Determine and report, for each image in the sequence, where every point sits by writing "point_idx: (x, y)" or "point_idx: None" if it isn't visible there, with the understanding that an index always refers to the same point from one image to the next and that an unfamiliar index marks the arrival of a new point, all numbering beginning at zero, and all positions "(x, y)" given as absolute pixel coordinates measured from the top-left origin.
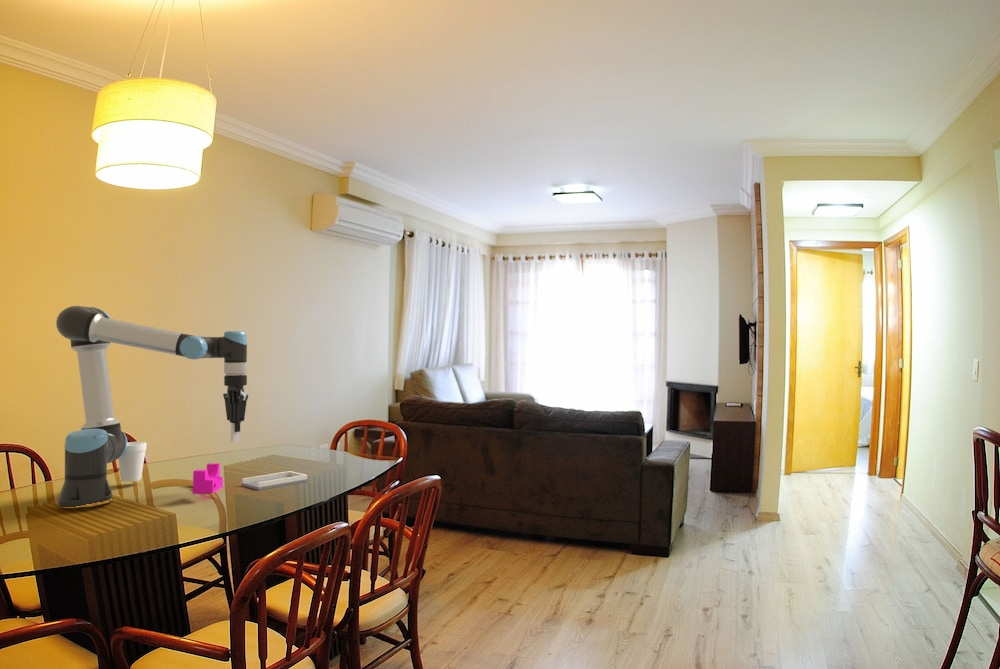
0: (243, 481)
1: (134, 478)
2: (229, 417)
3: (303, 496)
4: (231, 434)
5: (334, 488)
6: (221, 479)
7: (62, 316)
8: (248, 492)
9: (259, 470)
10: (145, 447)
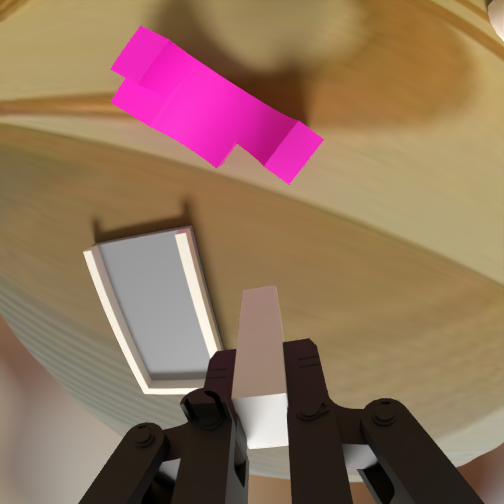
0: (177, 232)
1: (492, 15)
2: (367, 441)
3: (7, 294)
4: (267, 315)
5: (58, 373)
6: (202, 157)
7: None
8: (82, 207)
9: (408, 352)
10: None
